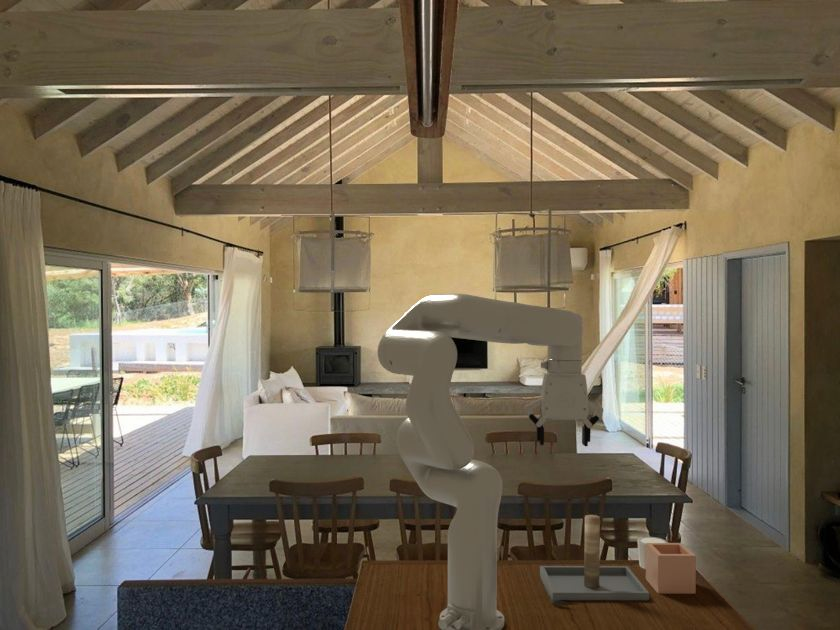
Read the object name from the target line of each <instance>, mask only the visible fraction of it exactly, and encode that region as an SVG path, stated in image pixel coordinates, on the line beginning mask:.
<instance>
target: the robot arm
mask: <svg viewBox="0 0 840 630" xmlns="http://www.w3.org/2000/svg"><path fill="white" fill-rule="evenodd" d="M583 329H584V328H583V317H582V316H581V314H579V313H576V312H573V311H570V310H566V309H561V308H554V307H548V306H540V305H539V306H538V305H531V304H526V303H521V302H513V301H506V300H499V299H495V298H494V299H493V298H488V297H483V296H479V295H478V296H477V295H471V294H466V293H438V294H436V293H434V294H430V295H427V296H425V297H423V298H422V299H420V300H419V301H417V302H416V303H414V305H413V306H411V307H410V308H409V309H408V310H407V311H406V312H405V313H404V314H402V316H401V317H400V318H398V320H397V321H396V322H395V323H394V324H392V325H391V326H390V327H389V328H388V329H387V330H386V332H384V334H383V335H382V337H381V339H380V340H379V342H378V346H377V358H378V361H379V363H380V365H381V366H382V367H383V368H384V369H385V370H386V371H387V372H390V373H392V374H396V375H403V376H412V379H411V383H410V385H409V390H408V393H407V396H406V400H405V411H406V415H407V418H406V419H405V420H403V422H402V423H401V424H400V426H399V427H398V431H397V437H396V445H397V450H398V453H399V456H400V458H401V459H402V461H403V463H404V465H405V466H406V468H407V469H408V472H409V473H410V475H412V477H413V479H414V481H415V482H416V484H417V485H418V487H419V489H420V490H421V492H423V493H424V495H425V496H426V497H428V498H430V499H431V500H433V501H435V502H439V503H443V504H445V505H449V506H451V507H455V508H456V512H455V514H454V516H453V518H451V521H450V524H449V527H448V530H447V605H446V608H445V609H443V610H442V611H441V612H440V614H439V620H438V623H437V624H438V628H439V629H440V630H503V628H504V627H505V616H504V614H503V613H502V612H501V611H499V610H498V609H497V603H498V602H497V601H498V600H497V599H498V598H497V595H498V593H497V591H498V590H497V587H498V586H497V585H498V584H497V580H498V579H497V577H498V573H497V572H498V568H497V567H498V566H497V564H498V560H497V559H498V558H497V557H498V543H497V542H498V541H497V540H498V520H499V518H498V517H499V510H500V505H501V500H502V494H503V480H502V477H501V475H500V473H499V471H498V470H497V469H496V468H495V467H493V466H492V465H490V464H488V463H487V462H484V461H481V460H477V459H476V460H475V459H474V456H475V455H474V454H475V445H474V442H473V439H472V436H471V434H470V433H469V431H468V429H467V427H466V425H465V423H464V421H463V420H462V418H461V416H460V414H459V413H458V411H457V409H456V407H455V405H454V403H453V400H452V398H451V392H450V387H451V383H452V379H453V375H454V371H455V368H456V366H457V365H456V364H457V362H458V349H457V345H456V344H455V342H454V340H453V338H455V339H466V340H474V341H483V342H491V343H498V344H508V345H509V344H513V345H515V344H516V345H517V344H519V345H520V344H527V345H530V346H540V347H547V358H546V360H545V361H541V362H540V369H545V370H546V373H543V374H544V375H543V378H542V384H541V390H540V391H541V392H540V398H538V399H536V400H534V401H532V402H530V403H528V404H526V405H524V410H525V413H526V415H527V417H528V419H530V421H531V422H533V423H534V425H535V426H536V430H535V431H536V434H535V437H536V438H535V441H537V442H538V443H539V445H540V446H544V445H545V443H544V442H545V427H544V424H545V423H546V421H547V420H555V421H556V420H557V421H559V420H560V421H561V420H562V421H581V422H582V423H583V426H582V427H581V429H582V430H581V445H583V446H584V447H589V445H588V443H590V442H591V429H592V428H593V426H594V425H595V424H596V423H597V422H598V421H599V419H600V418H601V416H602V414H603V412H604V408H603V407H602V406H600V405H597V404H596V403H594V402H592V401H590V400H589V395H588V384H587V382H588V381H587V377H586V375H585V374H582V372H583V371H582V365H583V363H582V362H583V361H582V360H583ZM537 407H539V410H540V415H539V417H537V416H535V414H534V412H533V410H534V409H536V408H537ZM589 408H590V409H591V410H594V413H593V415H592V416H591V417H589ZM588 417H589V419H588Z"/></svg>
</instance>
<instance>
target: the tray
mask: <svg viewBox="0 0 840 630" xmlns="http://www.w3.org/2000/svg"><path fill="white" fill-rule="evenodd" d="M539 569H540V570H539V578H540V579H541V582H542V584H544V585H543V586H544V588H545V591H546V593H547V596H548V598H549V599H550V602H551V604H552V605H553V606H554V605H555V606H560V605H563V606H564V605H565V606H566V605H567V606H569V605H570V606H573V605H575V606H576V605H577V606H578V605H579V604H578V603H573V602H569V601H650V592H649V591H648V590H647V588H646V587H645V586H644V585H643V583H642V582H641V581H640V580H639V578H638V577H637V576H636V575H635V573H634V572H633V571H632V570H631V568H630V567H629V566H628V565H615V566H614V565H610V566H609V565H599V588H595V589H592V588H587V587H585V586H584V565H540V566H539Z"/></svg>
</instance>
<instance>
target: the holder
mask: <svg viewBox="0 0 840 630" xmlns="http://www.w3.org/2000/svg"><path fill="white" fill-rule="evenodd" d="M696 569H697V555H696V554H695V553H694V552H692V551H691V550H690V548H688V547H687V546H686V545H684V543H682V542H668V543H646V569H645V580H646V581H647V582H648V583H649V585H650V586H651V587H652V588H653V590H655V592H656V593H657V594H690V595H691V594H692V595H693V594H695V595H696V589H697V587H696V584H697V583H696V581H697V580H696V579H697V574H696V573H697V572H696V571H697V570H696Z"/></svg>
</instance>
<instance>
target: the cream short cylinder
mask: <svg viewBox="0 0 840 630" xmlns="http://www.w3.org/2000/svg"><path fill="white" fill-rule="evenodd" d="M646 543H669V542H668V541H667V540H665V539H663V538H661V537H658V536H657V537H656V536H641V537H638V538H637V553H638V563H639V567H640V568H641V569H643V570H646Z"/></svg>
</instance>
